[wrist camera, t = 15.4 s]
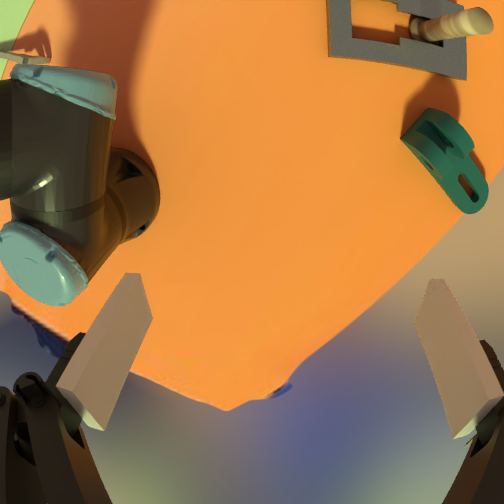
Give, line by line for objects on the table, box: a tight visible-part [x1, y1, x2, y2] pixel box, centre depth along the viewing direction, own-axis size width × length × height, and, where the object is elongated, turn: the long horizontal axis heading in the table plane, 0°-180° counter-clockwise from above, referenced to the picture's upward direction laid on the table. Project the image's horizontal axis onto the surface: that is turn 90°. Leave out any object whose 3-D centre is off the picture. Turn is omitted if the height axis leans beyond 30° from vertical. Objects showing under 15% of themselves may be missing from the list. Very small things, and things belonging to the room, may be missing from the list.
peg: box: [409, 7, 493, 46], centre depth 22 cm, size 5×5×15 cm
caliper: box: [0, 51, 51, 64], centre depth 30 cm, size 20×1×6 cm, turn 67°
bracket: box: [400, 108, 488, 214], centre depth 35 cm, size 18×7×8 cm, turn 53°
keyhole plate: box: [326, 0, 467, 81], centre depth 28 cm, size 20×12×2 cm, turn 92°
